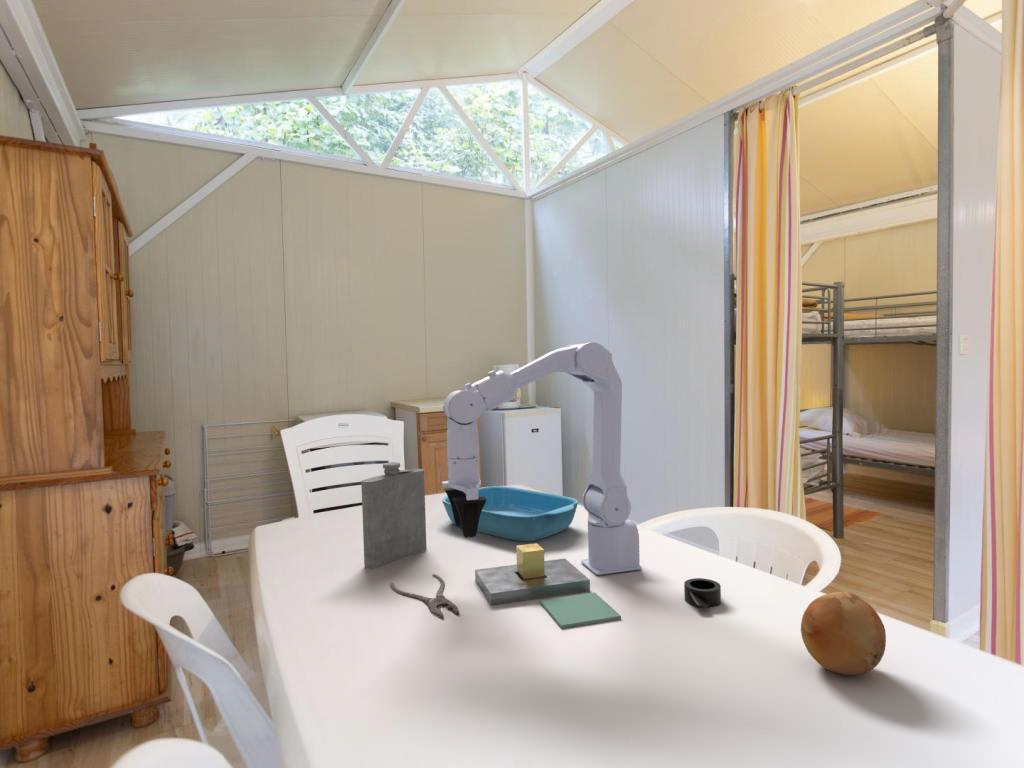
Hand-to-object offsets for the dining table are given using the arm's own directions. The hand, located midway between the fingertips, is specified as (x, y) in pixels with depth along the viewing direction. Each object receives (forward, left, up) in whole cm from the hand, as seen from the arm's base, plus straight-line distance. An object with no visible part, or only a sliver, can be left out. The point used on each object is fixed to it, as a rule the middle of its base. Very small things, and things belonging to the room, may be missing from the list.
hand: (465, 530), depth 109 cm
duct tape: (-36, +20, -11) cm, 42 cm away
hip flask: (+11, -21, -10) cm, 26 cm away
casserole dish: (-18, -35, -11) cm, 41 cm away
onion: (-40, +45, -10) cm, 61 cm away
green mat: (-15, +17, -10) cm, 25 cm away
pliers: (+6, +2, -11) cm, 12 cm away
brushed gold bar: (-11, +4, -10) cm, 16 cm away
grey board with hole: (-11, +4, -10) cm, 15 cm away
